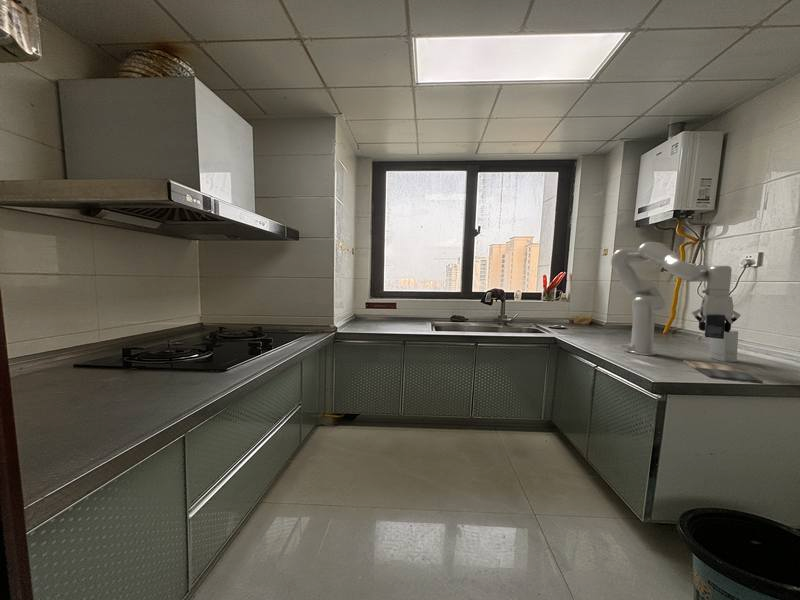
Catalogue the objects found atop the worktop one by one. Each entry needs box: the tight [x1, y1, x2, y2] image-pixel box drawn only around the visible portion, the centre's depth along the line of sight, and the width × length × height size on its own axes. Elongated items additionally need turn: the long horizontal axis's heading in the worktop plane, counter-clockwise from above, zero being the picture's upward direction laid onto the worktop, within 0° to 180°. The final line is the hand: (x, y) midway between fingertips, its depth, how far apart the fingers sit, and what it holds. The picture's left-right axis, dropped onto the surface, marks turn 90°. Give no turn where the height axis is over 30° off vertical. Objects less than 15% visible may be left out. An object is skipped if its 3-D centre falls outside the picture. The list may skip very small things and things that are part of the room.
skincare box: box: [709, 329, 739, 363], centre depth 161 cm, size 8×7×16 cm
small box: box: [704, 315, 726, 339], centre depth 145 cm, size 11×6×10 cm, turn 136°
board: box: [682, 359, 763, 383], centre depth 141 cm, size 16×26×1 cm, turn 157°
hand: (714, 330), depth 146 cm, fingers closed on small box, 8 cm apart
